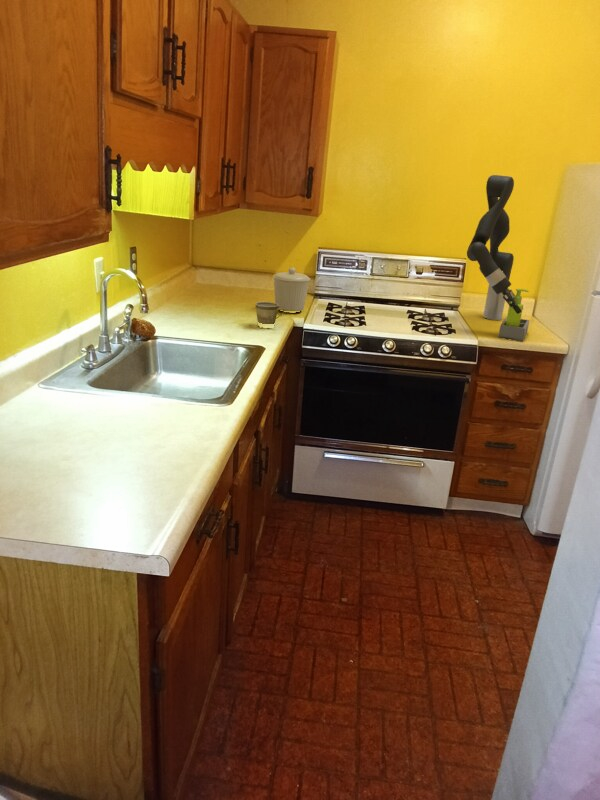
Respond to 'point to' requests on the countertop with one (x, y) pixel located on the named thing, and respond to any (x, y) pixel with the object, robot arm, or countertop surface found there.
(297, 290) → the canister
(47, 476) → the countertop surface
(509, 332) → the caddy
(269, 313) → the ceramic cup
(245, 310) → the countertop surface
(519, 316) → the soap dispenser
